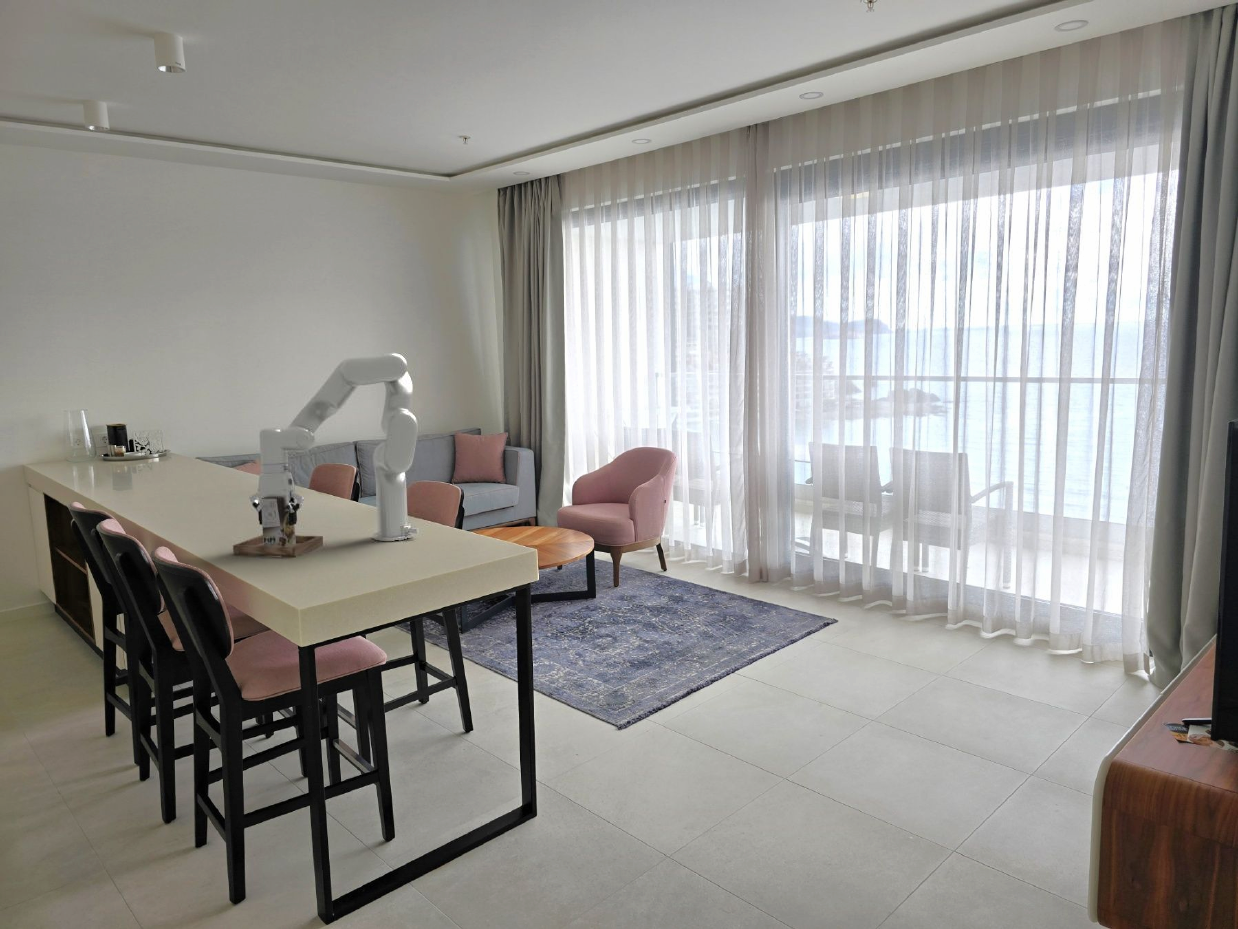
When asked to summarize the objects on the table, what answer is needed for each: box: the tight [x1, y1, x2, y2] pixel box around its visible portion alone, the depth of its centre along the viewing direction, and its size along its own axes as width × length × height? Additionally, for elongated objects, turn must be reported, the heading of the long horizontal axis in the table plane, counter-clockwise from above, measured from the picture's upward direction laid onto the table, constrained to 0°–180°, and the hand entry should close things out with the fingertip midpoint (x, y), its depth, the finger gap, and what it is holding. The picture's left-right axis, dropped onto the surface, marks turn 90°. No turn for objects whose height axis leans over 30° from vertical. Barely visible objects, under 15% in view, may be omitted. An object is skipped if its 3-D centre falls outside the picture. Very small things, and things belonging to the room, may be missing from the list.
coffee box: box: [261, 497, 296, 547], centre depth 249 cm, size 9×6×16 cm
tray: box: [232, 534, 324, 558], centre depth 250 cm, size 20×16×3 cm
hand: (278, 524), depth 249 cm, fingers open, 9 cm apart
